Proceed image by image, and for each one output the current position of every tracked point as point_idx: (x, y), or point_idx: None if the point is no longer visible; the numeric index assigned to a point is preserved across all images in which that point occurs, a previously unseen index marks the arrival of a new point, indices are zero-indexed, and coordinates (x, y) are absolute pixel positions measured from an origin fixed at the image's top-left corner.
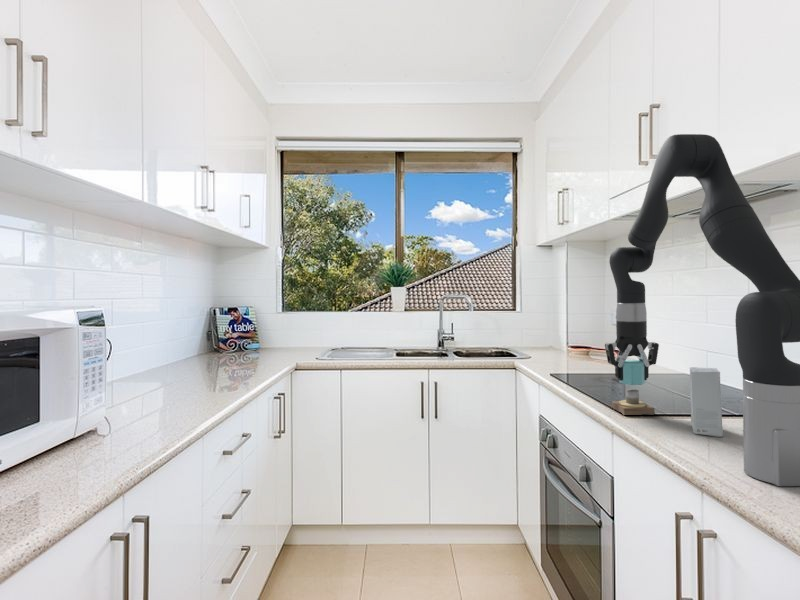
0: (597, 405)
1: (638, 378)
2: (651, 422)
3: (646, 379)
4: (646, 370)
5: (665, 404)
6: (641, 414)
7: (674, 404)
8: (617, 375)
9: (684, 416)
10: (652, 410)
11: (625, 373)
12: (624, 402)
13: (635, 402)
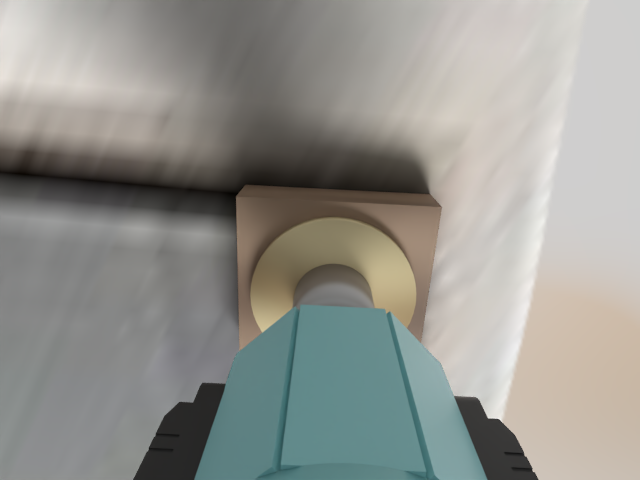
0: None
1: (323, 344)
2: (344, 28)
3: (203, 384)
4: (168, 465)
5: (78, 396)
6: (324, 191)
7: (31, 391)
8: (518, 447)
9: (74, 151)
10: (252, 192)
11: (460, 433)
12: None
13: (331, 269)
